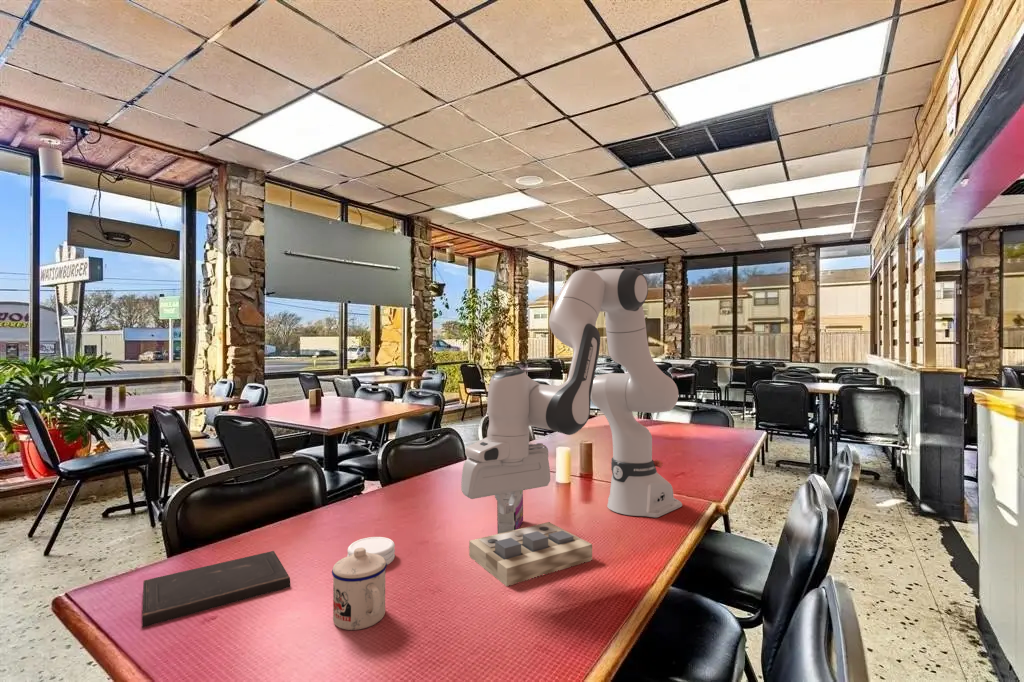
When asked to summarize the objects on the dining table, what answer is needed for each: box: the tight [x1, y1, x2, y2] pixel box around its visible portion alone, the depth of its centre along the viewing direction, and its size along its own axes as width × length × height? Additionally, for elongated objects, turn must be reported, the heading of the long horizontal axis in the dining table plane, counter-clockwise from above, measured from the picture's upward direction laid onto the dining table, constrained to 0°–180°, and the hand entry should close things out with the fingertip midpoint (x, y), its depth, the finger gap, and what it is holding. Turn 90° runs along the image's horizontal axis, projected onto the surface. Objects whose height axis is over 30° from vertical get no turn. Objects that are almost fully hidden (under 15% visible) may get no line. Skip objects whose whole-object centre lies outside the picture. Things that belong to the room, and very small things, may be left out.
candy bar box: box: [496, 490, 524, 534], centre depth 126 cm, size 11×5×16 cm, turn 168°
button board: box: [468, 521, 593, 587], centre depth 108 cm, size 22×16×4 cm
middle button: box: [523, 531, 548, 552], centre depth 106 cm, size 4×4×3 cm
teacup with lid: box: [331, 548, 388, 631], centre depth 83 cm, size 12×9×12 cm
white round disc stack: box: [346, 536, 396, 566], centre depth 107 cm, size 10×10×4 cm
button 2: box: [548, 531, 573, 545], centre depth 110 cm, size 4×4×3 cm
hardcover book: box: [141, 550, 291, 628], centre depth 94 cm, size 16×23×2 cm
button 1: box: [495, 538, 521, 560], centre depth 102 cm, size 4×4×3 cm
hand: (507, 512), depth 102 cm, fingers closed
